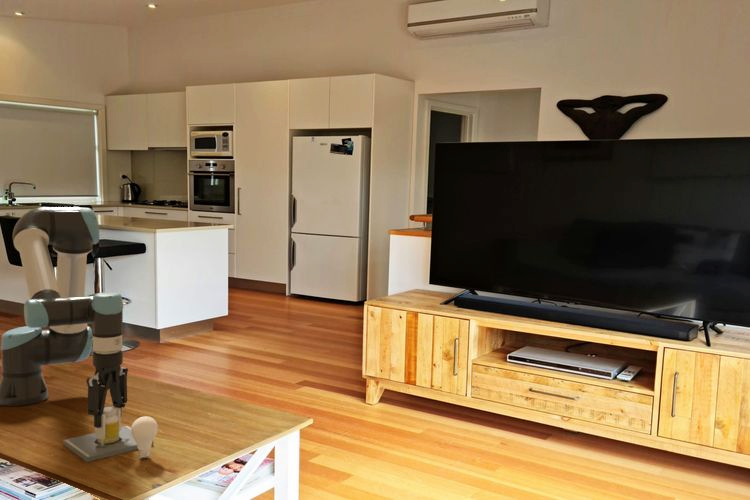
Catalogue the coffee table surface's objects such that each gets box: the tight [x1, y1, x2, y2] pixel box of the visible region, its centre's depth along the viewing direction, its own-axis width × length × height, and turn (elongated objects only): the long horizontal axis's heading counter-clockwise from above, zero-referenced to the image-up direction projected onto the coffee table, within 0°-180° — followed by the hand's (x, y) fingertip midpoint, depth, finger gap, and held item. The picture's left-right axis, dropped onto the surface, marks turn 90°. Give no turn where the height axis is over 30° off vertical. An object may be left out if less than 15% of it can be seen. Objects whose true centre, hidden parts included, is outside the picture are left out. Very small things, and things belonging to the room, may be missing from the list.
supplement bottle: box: [97, 406, 120, 445], centre depth 185 cm, size 5×5×10 cm
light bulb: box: [131, 415, 159, 459], centre depth 176 cm, size 7×7×11 cm
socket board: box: [62, 425, 154, 463], centre depth 185 cm, size 16×18×1 cm
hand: (108, 434), depth 185 cm, fingers closed on supplement bottle, 5 cm apart
